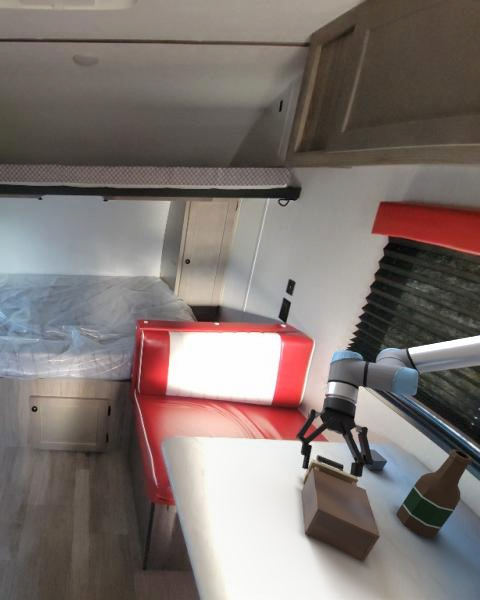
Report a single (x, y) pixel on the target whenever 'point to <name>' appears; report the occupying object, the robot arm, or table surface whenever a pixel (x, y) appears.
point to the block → (376, 461)
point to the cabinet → (338, 515)
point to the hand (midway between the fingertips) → (327, 477)
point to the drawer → (330, 470)
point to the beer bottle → (434, 497)
